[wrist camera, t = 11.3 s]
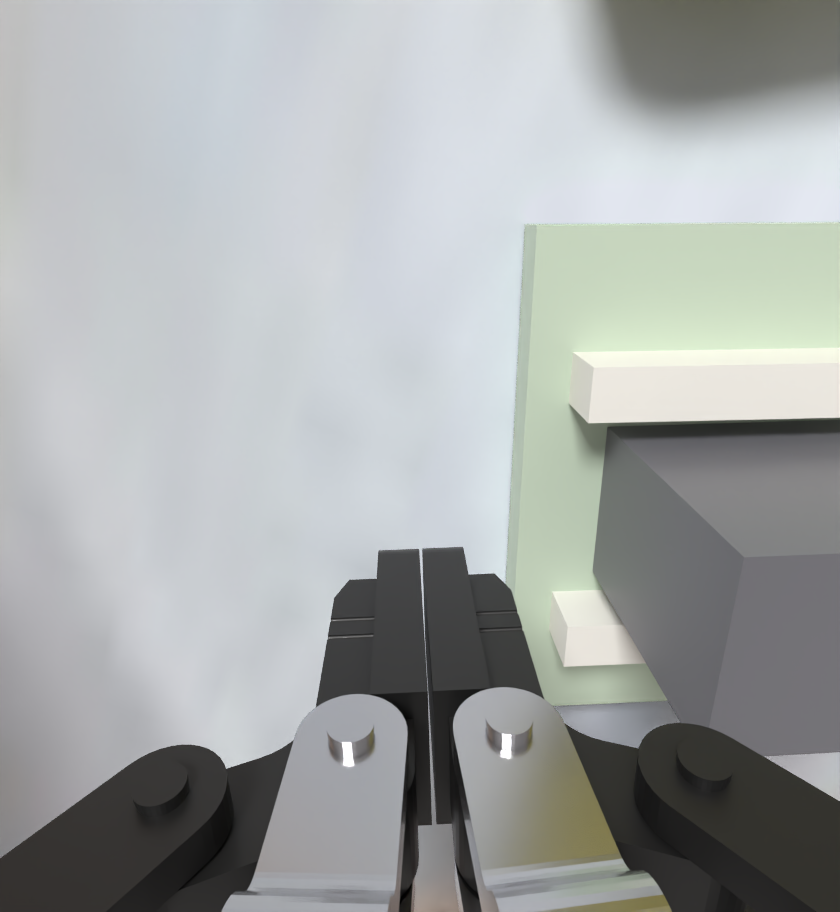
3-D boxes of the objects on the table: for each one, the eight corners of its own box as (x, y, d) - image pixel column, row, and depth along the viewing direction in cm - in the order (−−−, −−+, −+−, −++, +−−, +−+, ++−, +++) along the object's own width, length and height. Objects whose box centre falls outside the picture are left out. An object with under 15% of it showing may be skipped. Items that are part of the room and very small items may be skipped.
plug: (592, 571, 16) (710, 774, 10) (607, 426, 15) (755, 568, 9) (813, 562, 16) (1052, 754, 11) (850, 419, 15) (1150, 551, 9)
